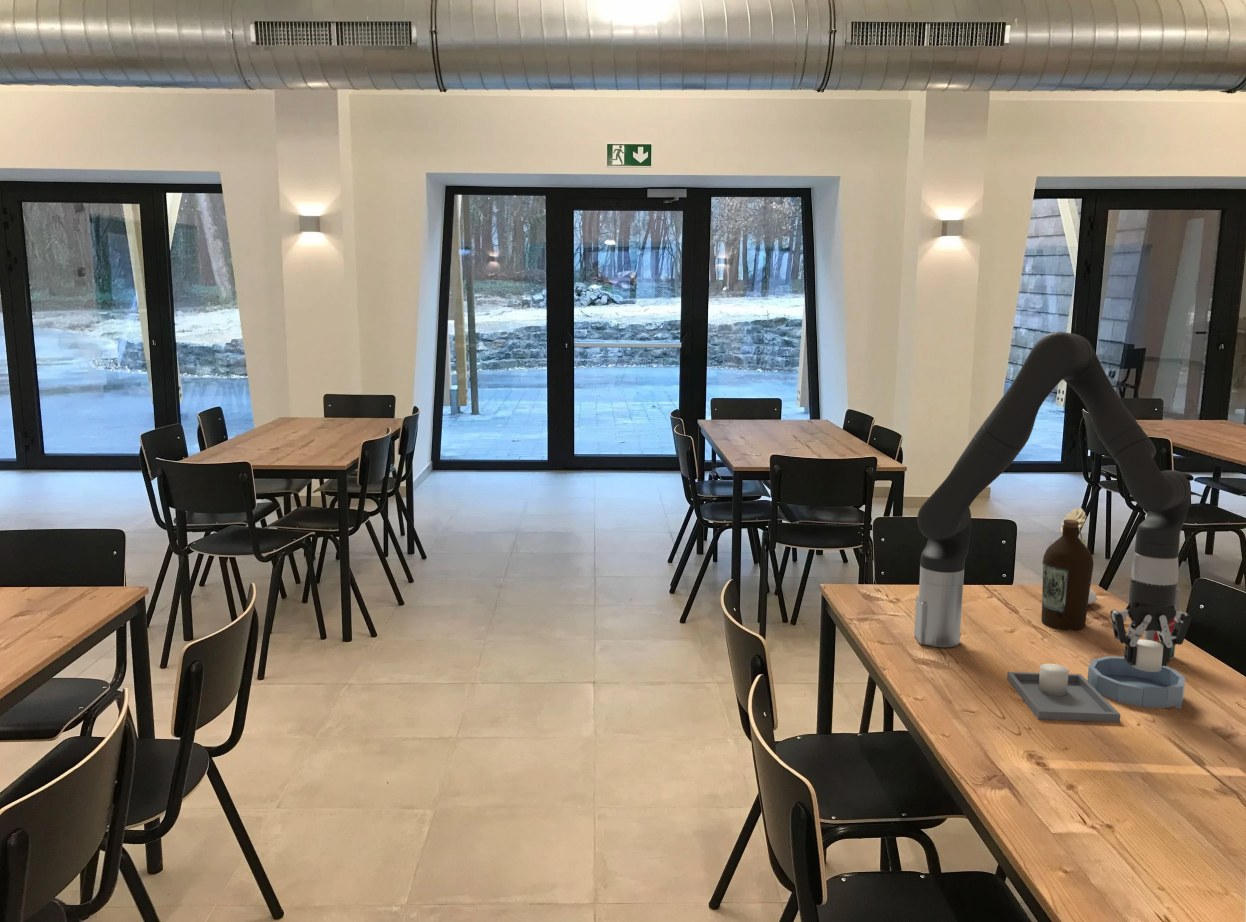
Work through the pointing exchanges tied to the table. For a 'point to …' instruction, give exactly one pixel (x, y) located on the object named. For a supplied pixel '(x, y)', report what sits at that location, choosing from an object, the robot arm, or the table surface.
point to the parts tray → (1064, 699)
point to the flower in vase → (1081, 518)
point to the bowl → (1136, 683)
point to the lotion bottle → (1153, 634)
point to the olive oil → (1066, 580)
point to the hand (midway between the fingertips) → (1146, 663)
